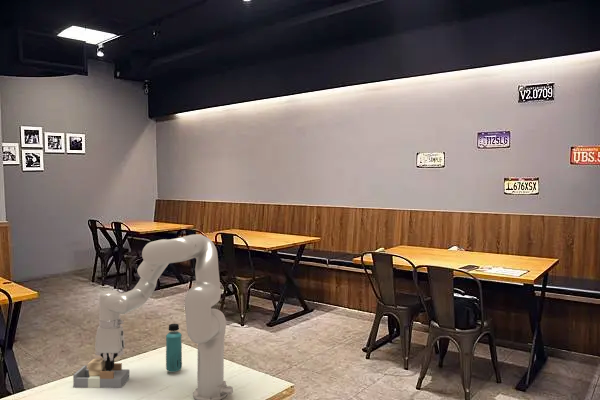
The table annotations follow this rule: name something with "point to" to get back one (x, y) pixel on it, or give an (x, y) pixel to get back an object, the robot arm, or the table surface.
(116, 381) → the grey open boxy piece
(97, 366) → the maple block
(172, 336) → the beverage bottle
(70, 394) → the table surface
